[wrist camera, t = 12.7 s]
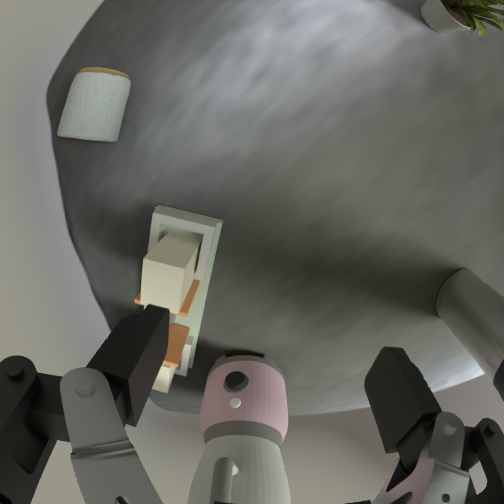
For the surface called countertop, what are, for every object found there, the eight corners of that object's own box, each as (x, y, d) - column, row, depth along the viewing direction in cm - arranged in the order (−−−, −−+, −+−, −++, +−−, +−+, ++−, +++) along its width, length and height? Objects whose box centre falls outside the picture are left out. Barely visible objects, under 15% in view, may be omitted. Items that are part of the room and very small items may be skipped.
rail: (223, 220, 32) (210, 248, 24) (193, 361, 41) (181, 408, 32) (159, 204, 32) (125, 227, 23) (145, 347, 40) (124, 390, 31)
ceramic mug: (144, 78, 26) (113, 63, 19) (128, 142, 29) (93, 143, 22) (78, 78, 26) (42, 69, 18) (65, 135, 29) (27, 137, 21)
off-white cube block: (162, 230, 31) (135, 256, 24) (208, 241, 32) (193, 271, 24) (157, 271, 33) (132, 305, 26) (200, 283, 34) (185, 320, 26)
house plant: (480, 80, 23) (559, 73, 8) (409, 56, 24) (491, 21, 9) (461, 5, 18) (523, -22, 3) (389, -23, 19) (442, -76, 4)
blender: (286, 397, 43) (298, 572, 13) (217, 401, 44) (195, 569, 14) (279, 327, 38) (299, 573, 8) (194, 334, 39) (135, 557, 9)
